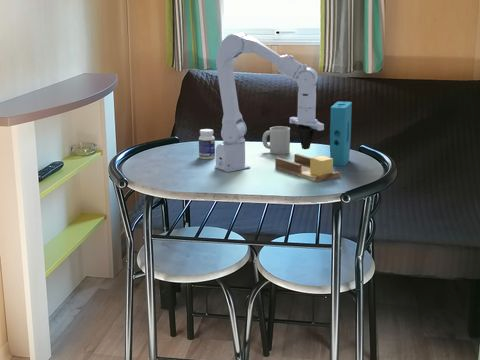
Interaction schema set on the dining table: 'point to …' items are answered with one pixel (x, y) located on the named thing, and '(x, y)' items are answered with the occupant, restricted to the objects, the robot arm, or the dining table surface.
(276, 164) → the chute
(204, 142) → the pill bottle
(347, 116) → the block
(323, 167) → the block
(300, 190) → the dining table surface
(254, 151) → the dining table surface
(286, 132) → the cup
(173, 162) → the dining table surface
